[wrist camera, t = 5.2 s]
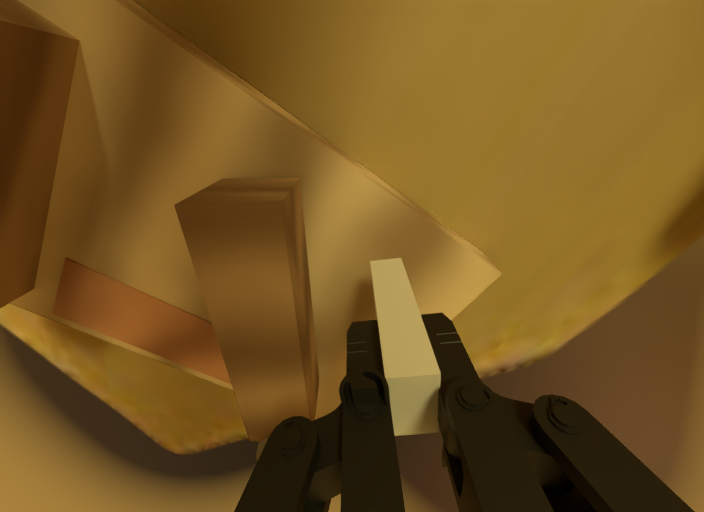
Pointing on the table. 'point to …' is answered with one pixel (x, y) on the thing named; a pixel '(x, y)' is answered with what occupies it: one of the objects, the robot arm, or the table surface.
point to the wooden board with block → (179, 190)
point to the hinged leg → (257, 294)
